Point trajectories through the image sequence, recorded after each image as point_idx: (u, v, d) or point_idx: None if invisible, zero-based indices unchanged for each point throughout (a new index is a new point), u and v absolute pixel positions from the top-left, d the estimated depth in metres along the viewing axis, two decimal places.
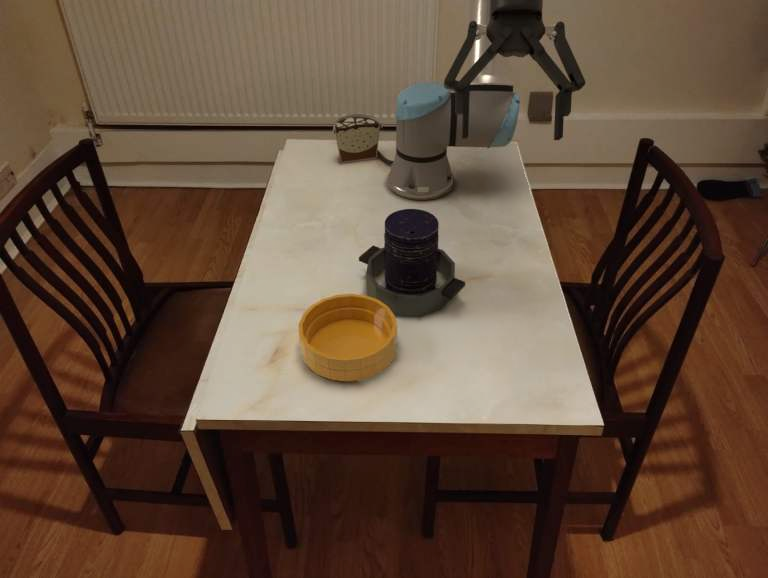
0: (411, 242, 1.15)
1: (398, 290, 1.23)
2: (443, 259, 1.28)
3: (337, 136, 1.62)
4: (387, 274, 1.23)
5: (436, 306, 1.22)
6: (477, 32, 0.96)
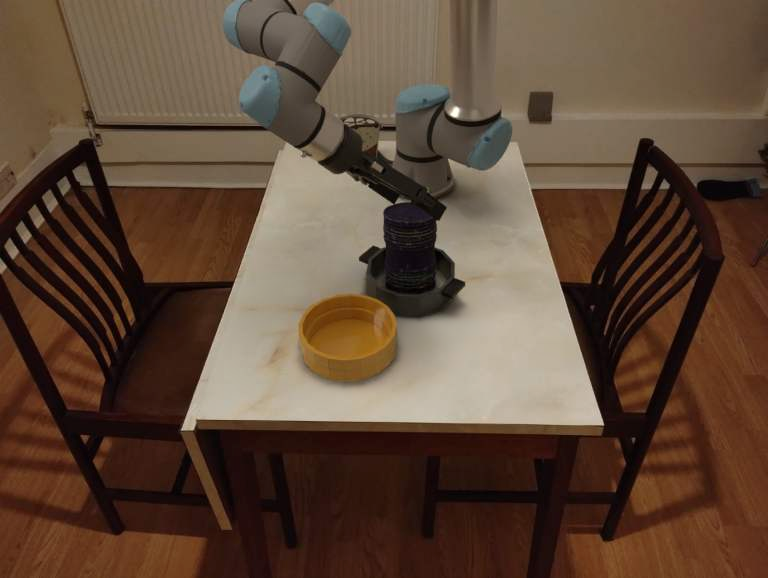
0: (409, 226, 1.16)
1: (397, 281, 1.22)
2: (443, 259, 1.28)
3: None
4: (387, 266, 1.23)
5: (436, 306, 1.22)
6: None
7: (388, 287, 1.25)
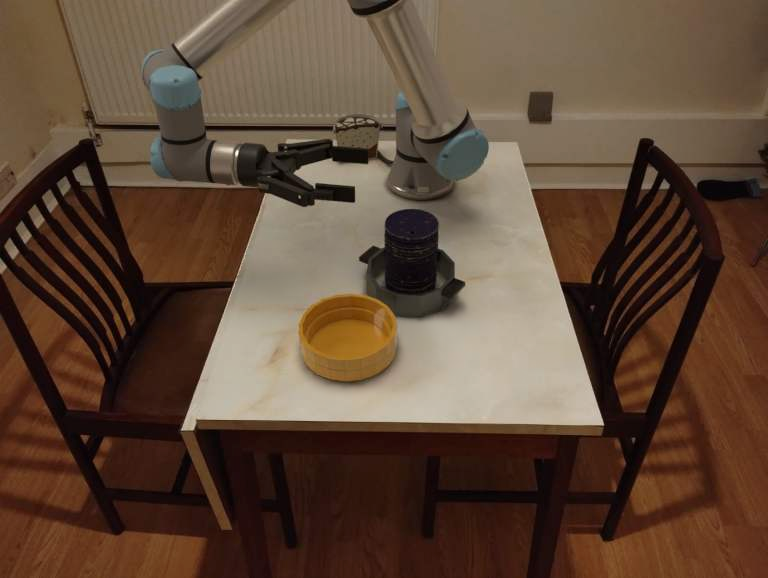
0: (411, 242, 1.15)
1: (398, 290, 1.23)
2: (443, 259, 1.28)
3: (337, 136, 1.62)
4: (387, 274, 1.23)
5: (436, 306, 1.22)
6: None
7: None
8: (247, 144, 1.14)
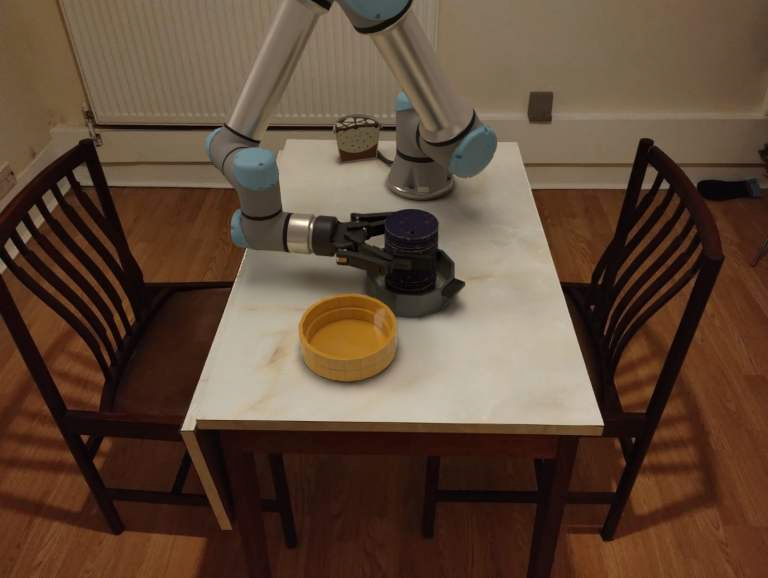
0: (411, 242, 1.15)
1: (398, 290, 1.23)
2: (443, 259, 1.28)
3: (337, 136, 1.62)
4: None
5: (436, 306, 1.22)
6: None
7: None
8: (321, 217, 1.21)
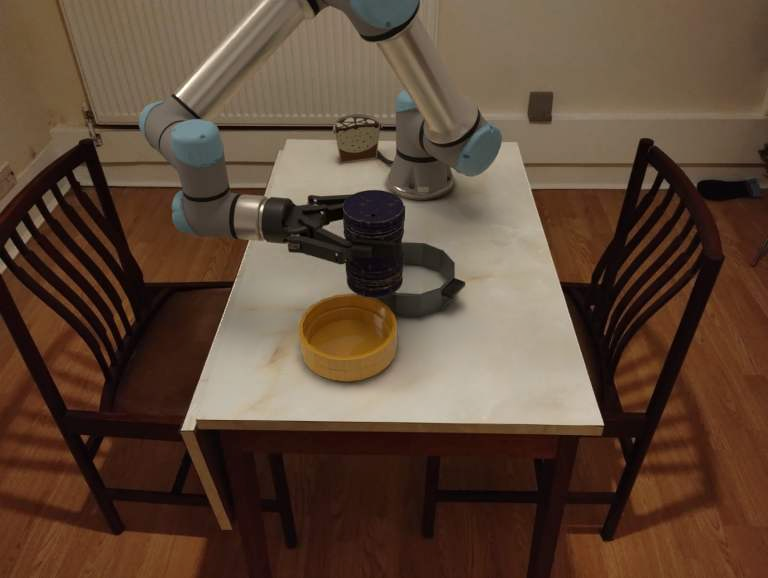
0: (371, 226, 1.02)
1: (359, 281, 1.09)
2: (443, 259, 1.28)
3: (337, 136, 1.62)
4: (347, 263, 1.10)
5: (436, 306, 1.22)
6: None
7: (349, 284, 1.12)
8: (272, 199, 1.08)
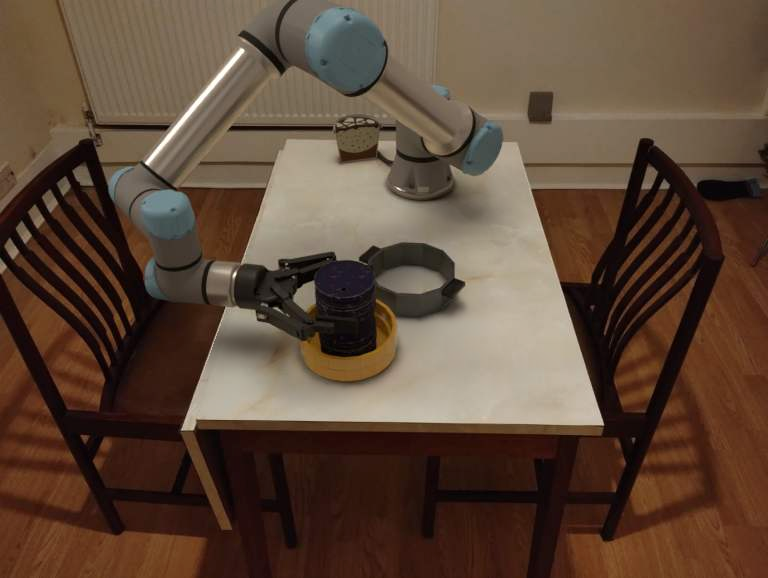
0: (341, 301, 1.02)
1: (332, 351, 1.10)
2: (443, 259, 1.28)
3: (337, 136, 1.62)
4: None
5: (436, 306, 1.22)
6: None
7: (323, 352, 1.13)
8: (245, 267, 1.08)
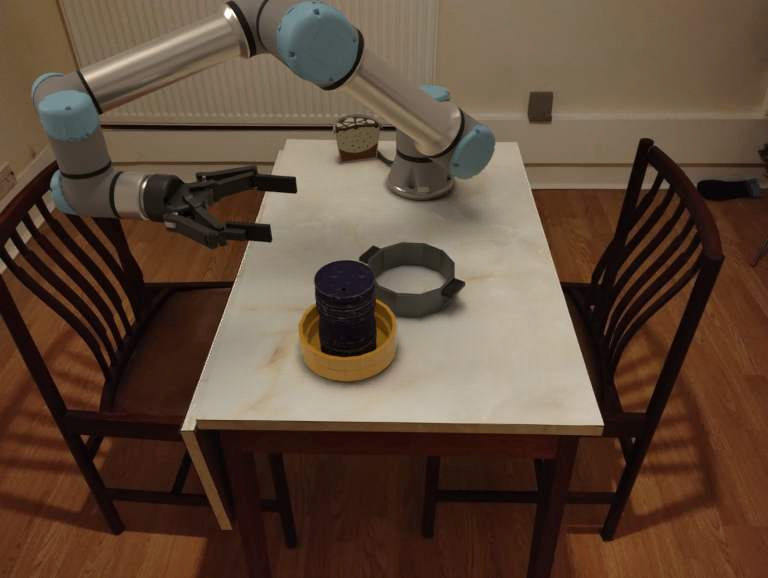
0: (341, 301, 1.02)
1: (332, 351, 1.10)
2: (443, 259, 1.28)
3: (337, 136, 1.62)
4: (320, 332, 1.10)
5: (436, 306, 1.22)
6: None
7: (323, 352, 1.13)
8: (156, 176, 1.02)
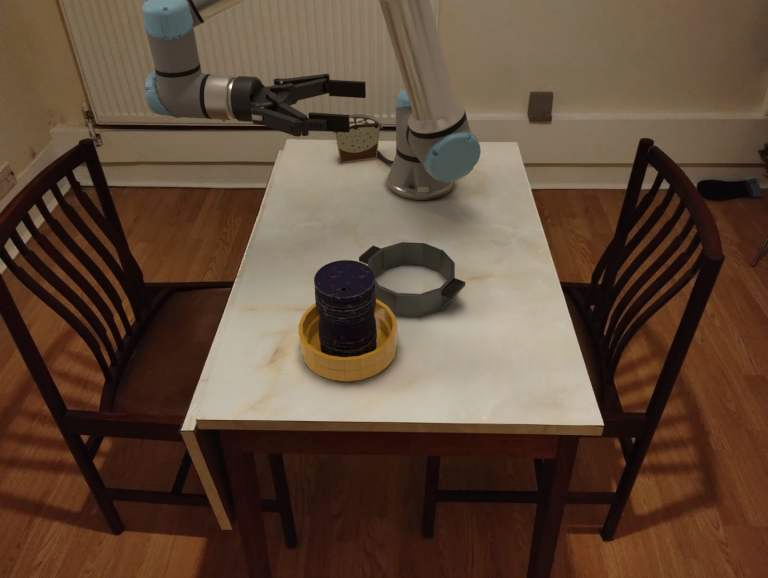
0: (341, 301, 1.02)
1: (332, 351, 1.10)
2: (443, 259, 1.28)
3: (337, 136, 1.62)
4: (320, 332, 1.10)
5: (436, 306, 1.22)
6: None
7: (323, 352, 1.13)
8: (241, 77, 1.12)
